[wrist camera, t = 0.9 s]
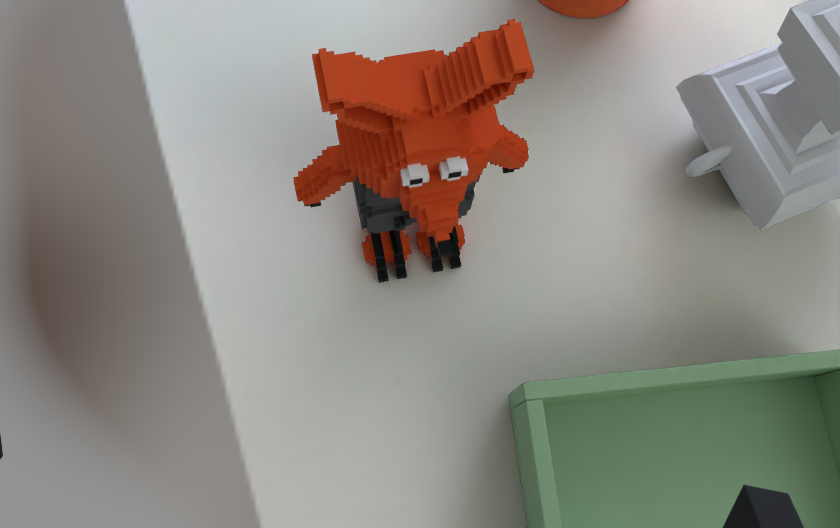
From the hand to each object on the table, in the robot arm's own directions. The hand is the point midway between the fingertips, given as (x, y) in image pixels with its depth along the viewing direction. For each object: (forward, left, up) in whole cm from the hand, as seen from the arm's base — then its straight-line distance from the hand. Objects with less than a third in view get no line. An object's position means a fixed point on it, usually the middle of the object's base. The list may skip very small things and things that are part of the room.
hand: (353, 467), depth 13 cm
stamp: (-11, +18, -15) cm, 26 cm away
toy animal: (-8, +3, -15) cm, 17 cm away
